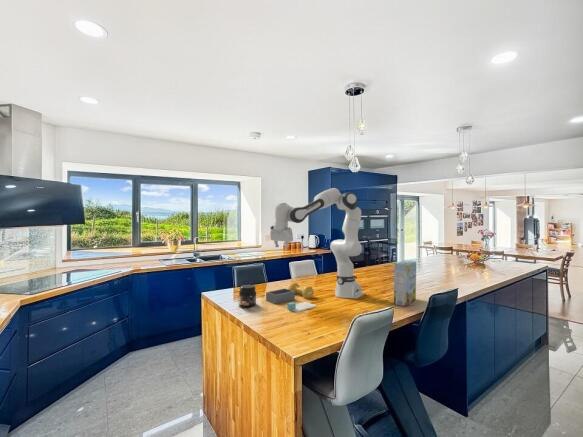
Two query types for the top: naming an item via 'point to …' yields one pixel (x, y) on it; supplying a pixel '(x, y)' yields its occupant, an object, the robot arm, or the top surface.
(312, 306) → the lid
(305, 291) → the dumbbell
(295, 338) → the top surface
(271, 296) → the tub
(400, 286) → the snack box
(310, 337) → the top surface
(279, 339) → the top surface
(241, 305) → the supplement container
